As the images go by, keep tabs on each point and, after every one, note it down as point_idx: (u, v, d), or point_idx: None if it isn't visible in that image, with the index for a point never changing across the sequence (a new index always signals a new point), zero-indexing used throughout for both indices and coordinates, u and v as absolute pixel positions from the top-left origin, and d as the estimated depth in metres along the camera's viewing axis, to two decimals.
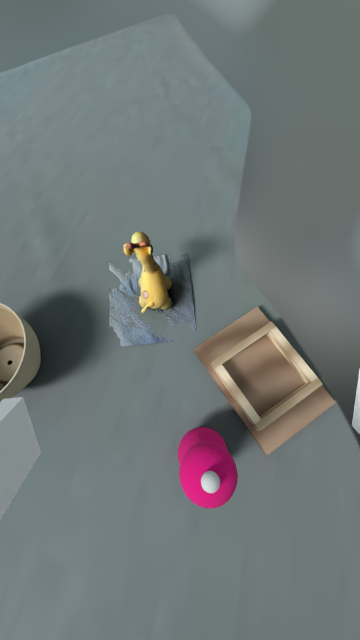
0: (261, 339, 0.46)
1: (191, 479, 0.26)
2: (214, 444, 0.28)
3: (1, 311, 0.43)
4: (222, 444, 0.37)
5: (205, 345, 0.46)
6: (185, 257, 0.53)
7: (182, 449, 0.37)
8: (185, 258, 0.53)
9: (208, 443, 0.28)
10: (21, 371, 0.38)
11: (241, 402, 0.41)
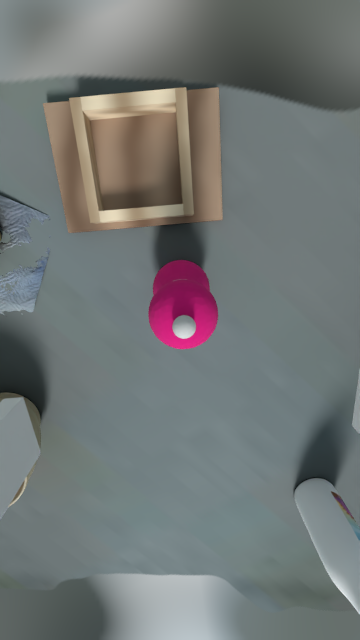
0: (93, 132, 0.31)
1: (174, 340, 0.21)
2: (157, 293, 0.22)
3: None
4: (180, 266, 0.31)
5: (70, 215, 0.34)
6: None
7: None
8: None
9: (153, 299, 0.22)
10: None
11: (153, 215, 0.32)
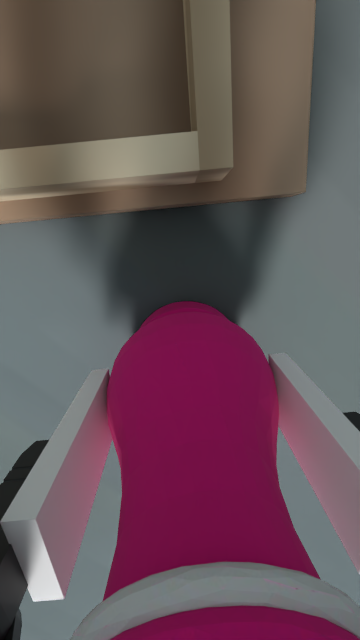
0: None
1: None
2: None
3: None
4: (192, 351, 0.09)
5: None
6: None
7: None
8: None
9: None
10: None
11: (98, 172, 0.09)
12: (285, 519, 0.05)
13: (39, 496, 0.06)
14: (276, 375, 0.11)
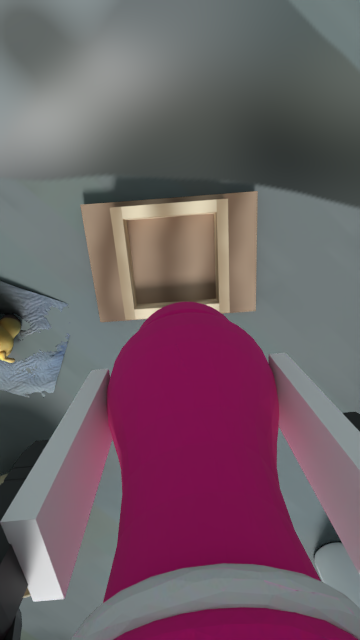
0: (130, 231, 0.31)
1: None
2: None
3: None
4: (192, 351, 0.09)
5: (103, 306, 0.34)
6: None
7: None
8: None
9: None
10: None
11: None
12: (285, 520, 0.05)
13: (39, 496, 0.06)
14: (276, 375, 0.11)
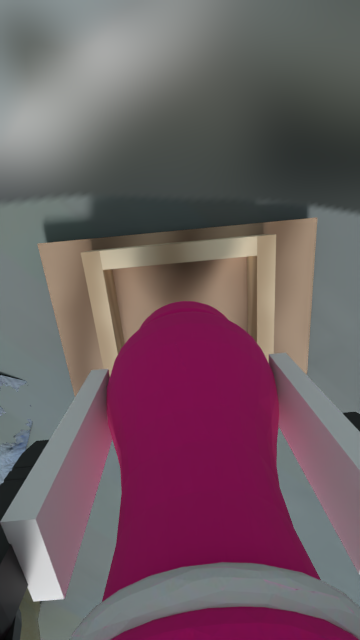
0: (117, 282, 0.20)
1: None
2: None
3: None
4: (192, 350, 0.09)
5: None
6: None
7: None
8: None
9: None
10: None
11: None
12: (285, 519, 0.05)
13: (39, 496, 0.06)
14: (276, 375, 0.11)
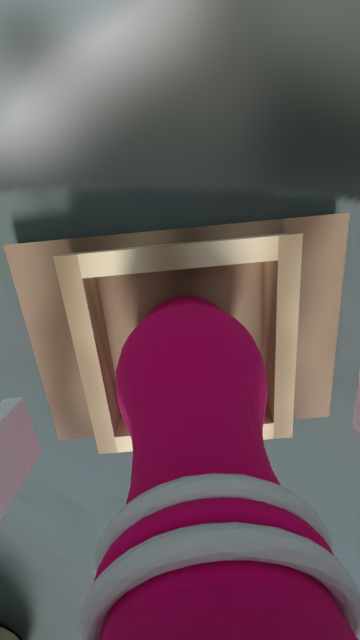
0: (103, 292, 0.16)
1: None
2: None
3: None
4: (191, 335, 0.10)
5: (61, 416, 0.19)
6: None
7: None
8: None
9: None
10: None
11: None
12: (264, 460, 0.07)
13: None
14: None
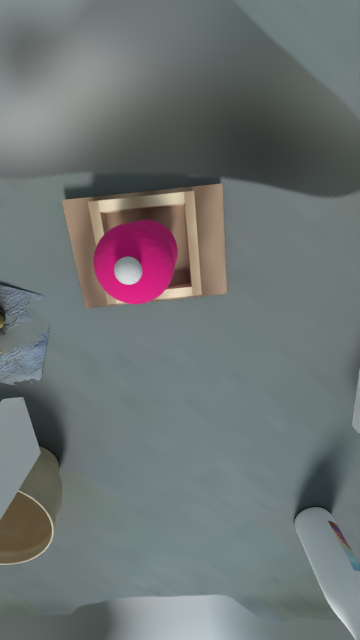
0: (108, 223, 0.34)
1: (121, 291, 0.18)
2: (101, 238, 0.19)
3: None
4: None
5: (87, 293, 0.37)
6: None
7: None
8: None
9: (97, 245, 0.19)
10: (34, 491, 0.37)
11: (165, 296, 0.35)
12: None
13: None
14: None
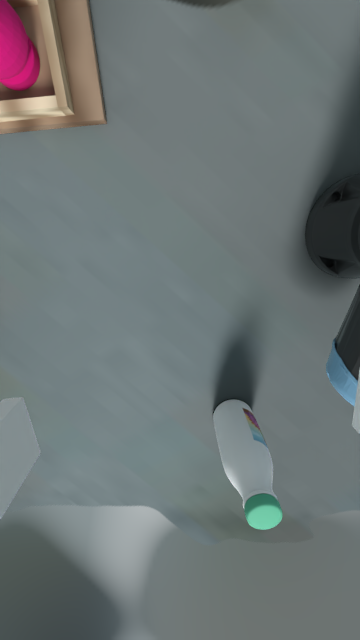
0: None
1: None
2: None
3: None
4: None
5: None
6: None
7: None
8: None
9: None
10: None
11: (28, 107, 0.33)
12: None
13: None
14: None
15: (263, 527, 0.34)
